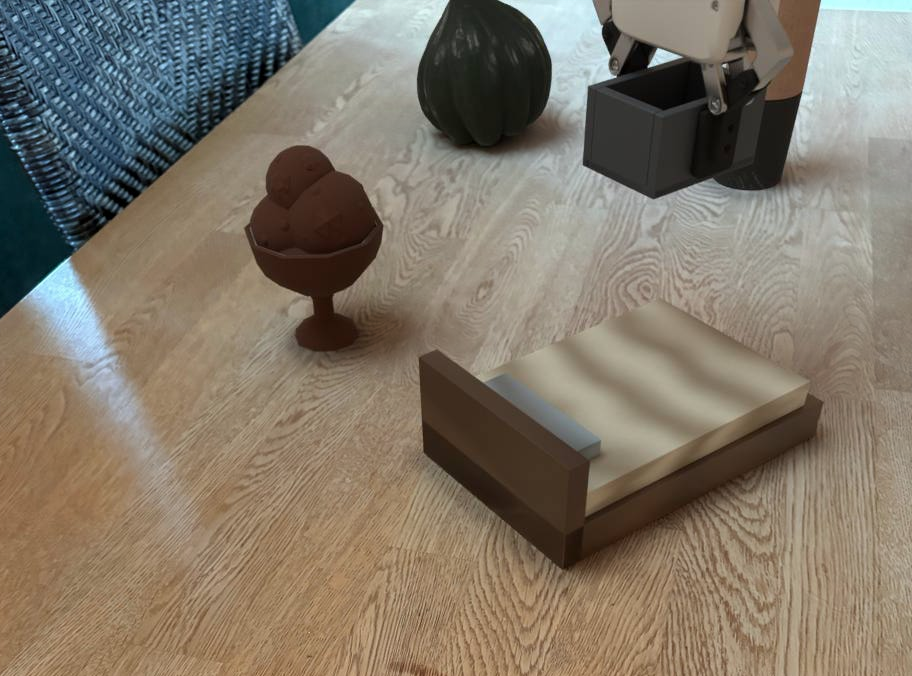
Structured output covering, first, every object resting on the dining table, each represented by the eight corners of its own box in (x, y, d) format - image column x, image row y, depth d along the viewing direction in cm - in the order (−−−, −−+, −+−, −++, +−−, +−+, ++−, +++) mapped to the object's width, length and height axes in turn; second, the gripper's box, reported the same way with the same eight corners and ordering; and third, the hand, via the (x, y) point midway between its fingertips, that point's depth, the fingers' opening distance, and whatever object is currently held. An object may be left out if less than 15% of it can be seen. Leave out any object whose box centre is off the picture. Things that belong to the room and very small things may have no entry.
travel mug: (707, 160, 109) (741, -61, 95) (780, 161, 108) (826, -62, 94) (710, 190, 104) (747, -39, 90) (787, 192, 103) (837, -39, 89)
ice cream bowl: (242, 358, 85) (206, 176, 74) (298, 294, 92) (273, 120, 81) (358, 378, 82) (339, 192, 72) (407, 311, 90) (397, 132, 79)
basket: (679, 132, 72) (690, 54, 69) (753, 163, 68) (768, 82, 64) (582, 165, 69) (587, 85, 65) (653, 200, 65) (663, 116, 61)
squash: (594, 90, 110) (537, -50, 107) (482, 130, 105) (419, -16, 102) (532, 149, 123) (480, 26, 120) (430, 187, 118) (374, 60, 115)
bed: (662, 345, 84) (675, 252, 78) (814, 436, 75) (842, 338, 69) (423, 452, 75) (418, 356, 70) (562, 569, 66) (570, 470, 60)
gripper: (891, -176, 51) (809, 181, 64) (653, -210, 62) (623, 104, 74) (787, -154, 49) (723, 214, 62) (556, -194, 59) (543, 129, 72)
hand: (669, 151), depth 68 cm, fingers closed on basket, 7 cm apart
